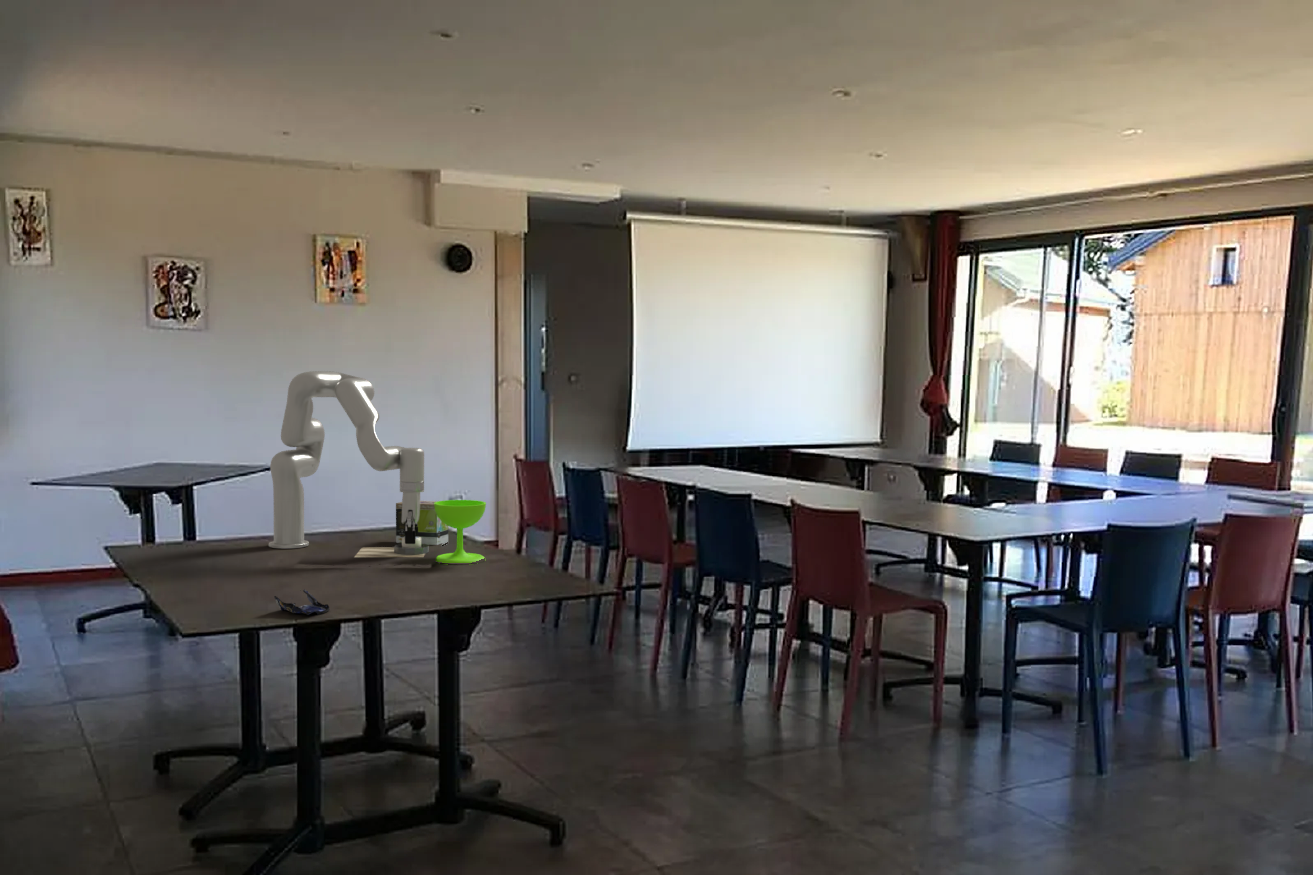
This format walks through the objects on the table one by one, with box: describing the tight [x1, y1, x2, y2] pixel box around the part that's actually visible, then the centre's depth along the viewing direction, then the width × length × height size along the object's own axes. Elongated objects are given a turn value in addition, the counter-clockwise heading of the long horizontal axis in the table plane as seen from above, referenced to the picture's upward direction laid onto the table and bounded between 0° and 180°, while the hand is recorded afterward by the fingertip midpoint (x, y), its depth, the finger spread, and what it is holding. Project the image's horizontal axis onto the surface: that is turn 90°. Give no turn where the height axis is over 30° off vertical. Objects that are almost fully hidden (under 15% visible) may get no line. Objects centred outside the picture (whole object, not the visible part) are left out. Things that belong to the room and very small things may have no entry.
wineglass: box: [434, 499, 487, 563], centre depth 339 cm, size 16×16×18 cm
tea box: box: [395, 500, 449, 546], centre depth 366 cm, size 15×10×15 cm, turn 77°
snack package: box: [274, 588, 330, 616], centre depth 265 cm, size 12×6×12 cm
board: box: [354, 546, 426, 558], centre depth 345 cm, size 18×21×1 cm
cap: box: [401, 537, 421, 548], centre depth 346 cm, size 6×6×5 cm
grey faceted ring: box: [393, 543, 430, 555], centre depth 346 cm, size 10×10×2 cm
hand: (411, 541), depth 345 cm, fingers open, 8 cm apart
